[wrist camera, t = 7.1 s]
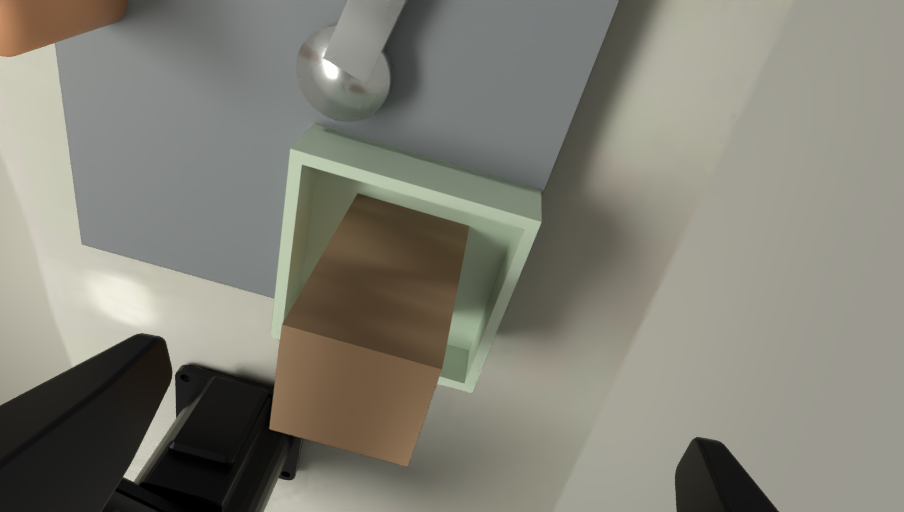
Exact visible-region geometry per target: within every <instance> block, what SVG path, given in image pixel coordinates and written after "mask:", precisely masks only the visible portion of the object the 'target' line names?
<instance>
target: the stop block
mask: <svg viewBox="0 0 904 512" xmlns="http://www.w3.org/2000/svg"><path fill="white" fill-rule="evenodd" d="M469 227H470V226H468V225H465V224H461V223H458V222H454V221H451V220H448V219H444V218H441V217H437V216H434V215H430V214H427V213H424V212H420V211H417V210H413V209H410V208H406V207H403V206H400V205H396V204H393V203H389V202H386V201H382V200H379V199H375V198H372V197H369V196H365V195H362V194H358V193H357V195H356V197H355V198H354V200H353V202H352V204H351V205H350V207H349V209H348V211H347V212H346V214H345V216H344V218H343V219H342V221H341V223H340V225H339V226H338V228H337V230H336V231H335V233H334V235H333V237H332V238H331V240H330V242H329V244H328V245H327V247H326V249H325V251H324V252H323V254H322V256H321V257H320V259H319V261H318V263H317V264H316V266H315V268H314V270H313V271H312V273H311V275H310V277H309V278H308V280H307V282H306V283H305V285H304V287H303V289H302V290H301V292H300V294H299V296H298V297H297V299H296V301H295V303H294V304H293V306H292V308H291V310H290V311H289V313H288V315H287V316H286V318H285V320H284V322H283V323H282V327H281V335H280V344H279V352H278V360H277V369H276V377H275V385H274V394H273V402H272V410H271V418H270V427H269V429H271V430H274V431H278V432H282V433H285V434H289V435H293V436H296V437H300V438H304V439H307V440H311V441H315V442H318V443H322V444H326V445H329V446H333V447H337V448H340V449H344V450H348V451H351V452H355V453H359V454H362V455H366V456H370V457H373V458H377V459H381V460H384V461H388V462H392V463H395V464H399V465H403V466H406V467H408V464H409V461H410V458H411V456H412V453H413V450H414V447H415V444H416V442H417V439H418V436H419V433H420V430H421V427H422V425H423V422H424V419H425V416H426V413H427V410H428V408H429V405H430V402H431V399H432V396H433V394H434V391H435V388H436V385H437V382H438V379H439V377H440V374H441V371H442V367H443V362H444V357H445V352H446V346H447V341H448V336H449V331H450V326H451V321H452V315H453V310H454V305H455V300H456V295H457V290H458V284H459V279H460V274H461V269H462V264H463V258H464V253H465V248H466V243H467V238H468V233H469Z"/></svg>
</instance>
